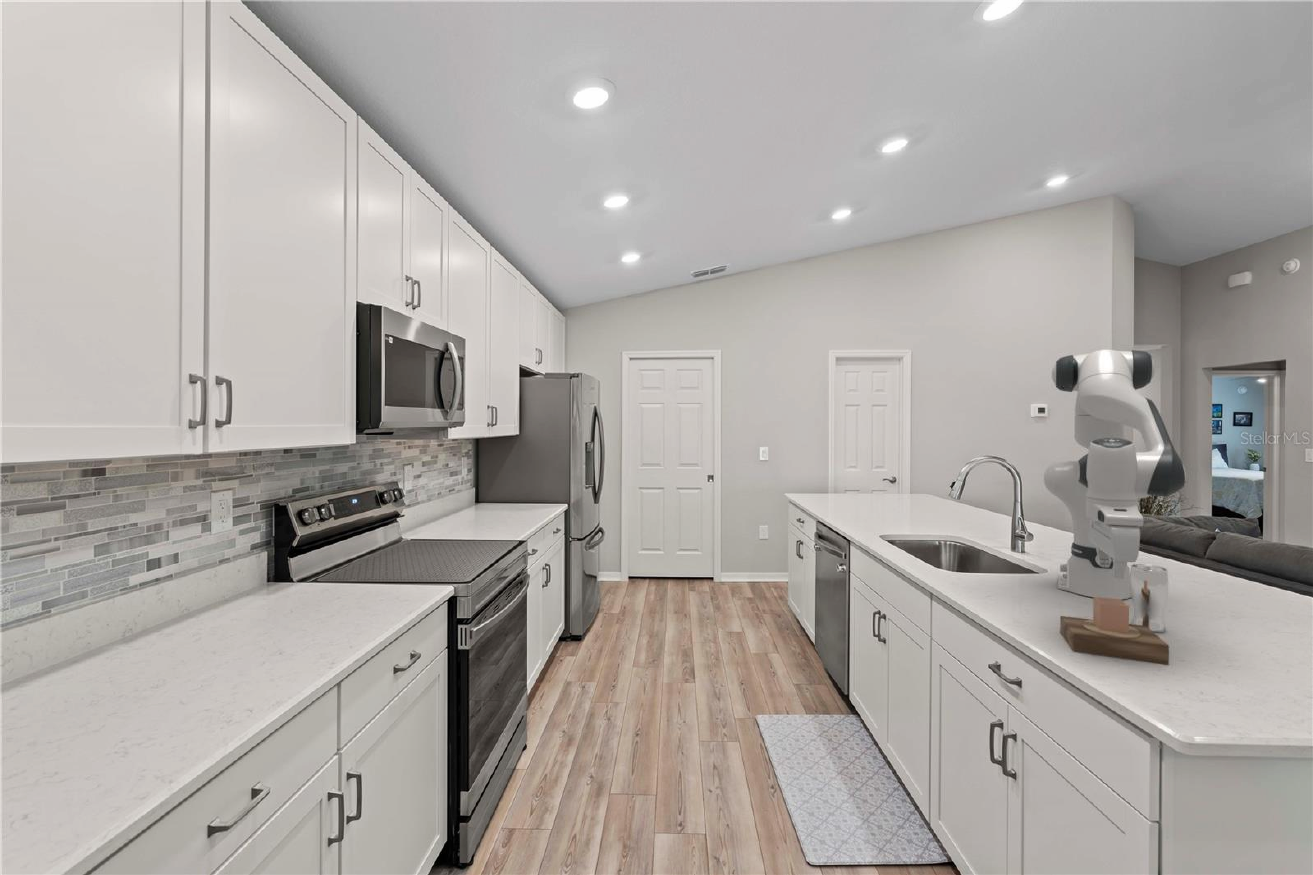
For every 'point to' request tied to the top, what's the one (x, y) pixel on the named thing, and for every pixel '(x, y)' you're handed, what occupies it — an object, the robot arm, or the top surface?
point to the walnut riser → (1114, 641)
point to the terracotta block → (1111, 614)
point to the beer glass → (1149, 595)
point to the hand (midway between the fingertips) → (1110, 572)
